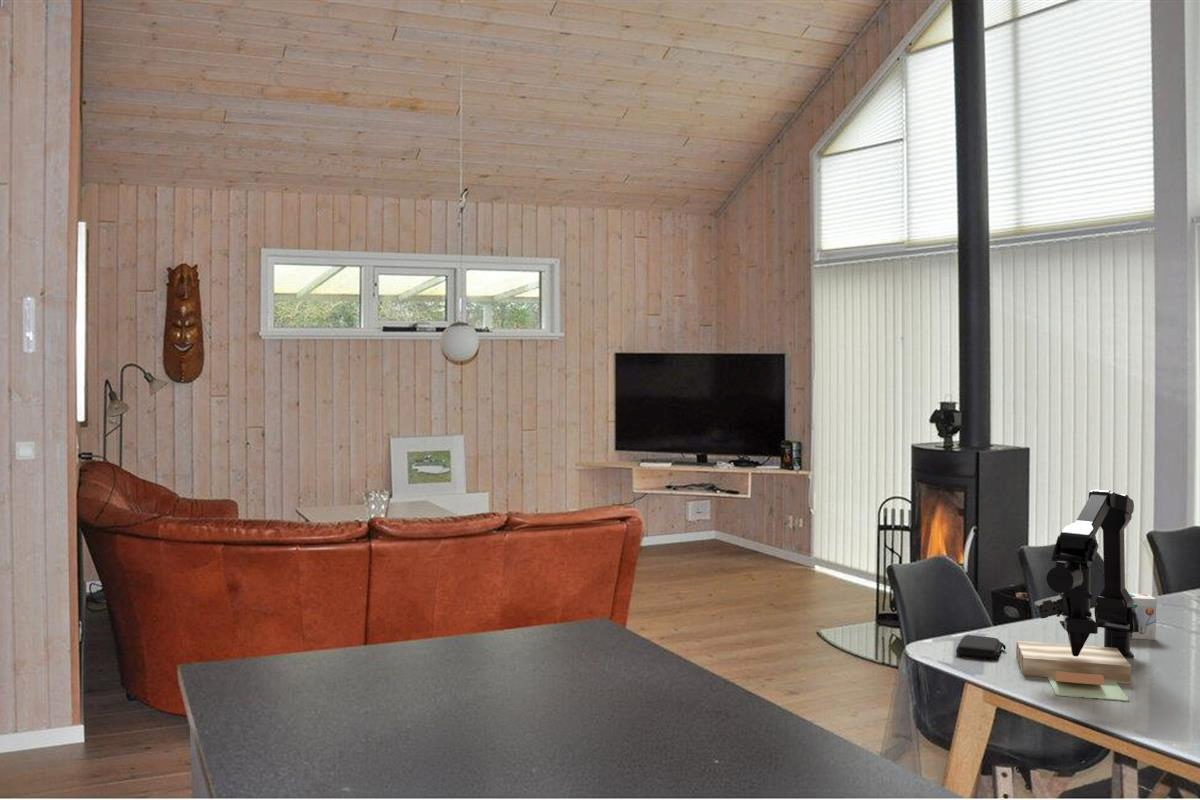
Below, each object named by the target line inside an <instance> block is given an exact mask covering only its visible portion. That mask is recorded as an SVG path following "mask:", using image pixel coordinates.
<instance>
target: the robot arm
mask: <svg viewBox="0 0 1200 800" xmlns="http://www.w3.org/2000/svg"><path fill="white" fill-rule="evenodd" d="M1134 502H1135V501H1134V500H1133V499H1132V498H1130V497H1129V495H1128V494H1122V493H1116V492H1114V491H1111V490H1108V489H1107V490H1103V489H1091V490H1089V492H1088V499H1087V501H1086V503H1085V504H1084V505H1083V508H1082V510H1081V511H1080V513H1079V515H1078V517H1077V519H1076V520H1075V522H1073V523H1071V524H1069V525H1066V526H1065V527H1064V528H1063V530H1062V531H1061V532H1060V534H1058V536H1057V539H1056V541H1055V546H1054V548H1053V549H1054V550H1053V553H1052V556H1051V561H1052V562H1055V566H1054V567H1052V568H1050V570H1049V571H1048V573H1047V574H1046V583H1047V585H1048V587H1049V588H1050V589H1051V590H1052V591H1053V592H1055V593H1057V594H1058V595H1054V596H1050V597H1046V598H1042V599H1039V600H1036V601H1034V602H1033V603H1034V606H1035V609H1036V611H1037V613H1038V616H1039V618H1040V619H1047V618H1049V617H1051V616H1056V617H1061V615H1062V617H1063V618H1062V619H1063V620H1059V623H1060V625H1061V626H1062V628H1063V629H1064V630H1065V631H1066V633H1067V636H1068V642H1069V645H1070V647H1071V651H1072V655H1073V656H1078V655H1079V654H1080V652H1081V650H1082V648H1083V646H1085V644H1086V643H1087V641H1088V638H1089V636H1090V635H1091V634H1093V635H1096V634H1097V635H1098V630H1099V628H1102V629H1103V630H1104V631H1103V647H1109V648H1117V649H1118V650H1119V651H1120V653H1121V654H1122V655H1123V656H1124V658H1135V655H1134V654H1133V652H1132V651H1131V638H1130V633H1134V632H1139V619H1138V616H1137V614H1136V611H1135V608H1133V599H1132V597H1131V596H1130V594H1129V593H1130V592H1128V590H1127V588H1126V573H1125V572H1126V571H1125V570H1126V568H1125V567H1126V564H1125V563H1126V562H1125V561H1126V560H1125V557H1126V554H1125V529H1126V528H1127V526H1128V524H1129V523H1130V522H1131V520H1132V517H1133V516H1132V515H1133V513H1134V510H1135V509H1134V508H1135V503H1134ZM1100 528H1101V530H1102V540H1103V541H1102V558H1103V589H1102V590H1101V592H1100V593H1099V595H1098V596H1097V597H1096V599H1095V602H1096V603H1095V605H1094V619H1093V618H1092V617H1093V616H1092V612H1091V600H1092V599H1093V594H1092V592H1091V575H1092V574H1091V566H1092V564H1093V563H1092V562H1094V561H1095V559H1096V555H1097V553H1098V549H1099V543H1098V540H1097V537H1096V535H1097V533H1098V531H1099V529H1100ZM1128 625H1130V626H1128Z"/></svg>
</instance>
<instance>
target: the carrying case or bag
mask: <svg viewBox="0 0 1200 800" xmlns="http://www.w3.org/2000/svg"><path fill="white" fill-rule="evenodd" d="M1006 648H1007V646H1006V644H1005V643H1004V642H1001V641H1000V639H998V638H996V637H991V636H980V635H972V634H966V635H964V636H963V637H962V638H961V639H960V642H959V643H958V644H957V647H956V650H955V652H956V654H957V656H959V657H960V658H965V659H967V658H968V659H976V660H984V661H994V660H996V659H997V658H999V657H1000V653H1001V651H1002V649H1003V650H1006Z"/></svg>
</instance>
